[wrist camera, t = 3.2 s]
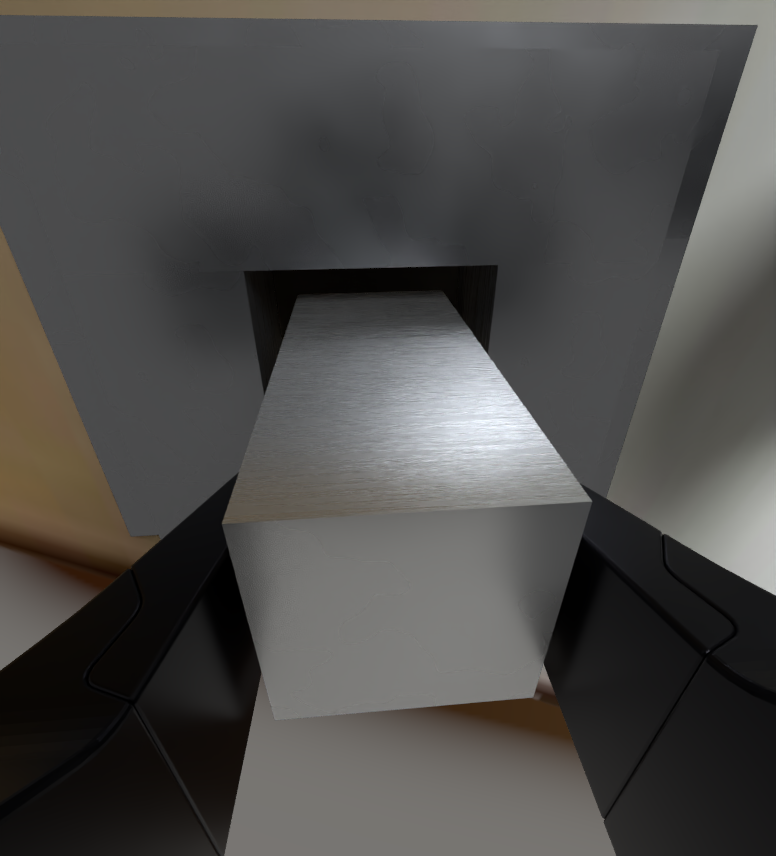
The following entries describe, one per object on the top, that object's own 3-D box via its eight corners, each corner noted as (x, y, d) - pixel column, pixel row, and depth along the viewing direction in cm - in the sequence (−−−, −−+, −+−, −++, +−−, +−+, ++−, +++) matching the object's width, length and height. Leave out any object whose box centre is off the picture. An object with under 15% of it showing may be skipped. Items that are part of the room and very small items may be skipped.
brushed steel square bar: (442, 290, 13) (592, 501, 5) (434, 427, 15) (528, 713, 7) (298, 294, 12) (222, 524, 5) (313, 432, 15) (279, 736, 7)
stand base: (734, 32, 12) (990, -48, 7) (594, 495, 20) (670, 600, 16) (-61, 23, 11) (-388, -83, 6) (138, 522, 19) (69, 646, 14)
